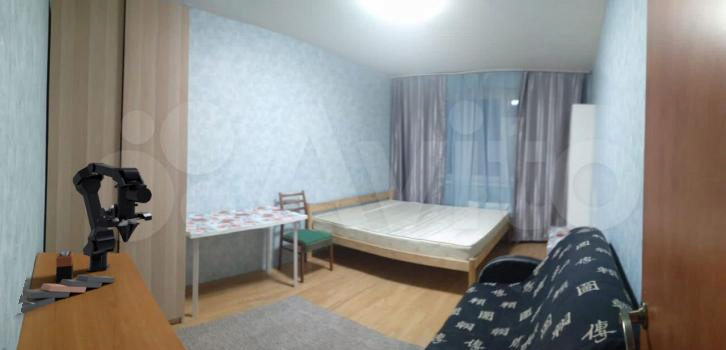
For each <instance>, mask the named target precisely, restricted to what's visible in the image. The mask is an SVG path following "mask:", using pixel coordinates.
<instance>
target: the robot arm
mask: <svg viewBox="0 0 726 350" xmlns="http://www.w3.org/2000/svg"><path fill="white" fill-rule="evenodd" d="M105 176H106V177H109V178H111V179H112V181H113V182H116V184H115V185H114V186H113V187H114V189H116V190H117V191H116V192H117V193H116V194H117V197H116V203H114V204H113V207H111V208H109V207H105V206H104V207H102V204H101V201H100V196H99V191H100V189H101V187H102V181H103V180H105ZM72 183H73V185H74V187H75V190H76V192H77V193H79V194H80V195H81V196H82V198H83V202H84V203H83V204H84V206H85V211H86V214H87V219H88V224H89V227H90V231H89V234H88V236H87V243H86V244H85V246H84V247H83V248H82V253H83V255H84V256H87V257H89V267H88V268H87V269H85V271H86V272H97V271H98V272H99V271H106V270H108V269H109V268H110V267H111V264H109V263H108V257H109V256H108V255H109V254H108V253H113V252H114V251H115V248H116V243H117V240H116V236H115V231H114V229H113V228H116V229H117V231H118V232H119V235H120V237H121V239H122V242H123V243H128V242H129V240H130V238H131V237H132V235H133V233H134V232H135V230H136V228H137V227H138V226H139V225H140V224H141V223H140V222H138V220H139V221H140V220H144V221H145V222H148V221H152V220H153V215H152V214H151V212H143V211H140V212H139V211H138V212H136V207H138V206H139V204H147V203H149V202H150V201H151V200H152V197H153V194H152V191H151V190H150V189H149V188H148V186H147V184H146V183H145V181H144V179H143V178H142V175H141V173H140V171H139V168H137V167H118V166H114V165H110V164H106V163H104V162H89V163H88V165H86V166H85V167H84V168H82V169H80V170H78V171H77V172H76V173H75V175H74V176H73V177H72ZM109 228H110V229H109Z"/></svg>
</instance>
